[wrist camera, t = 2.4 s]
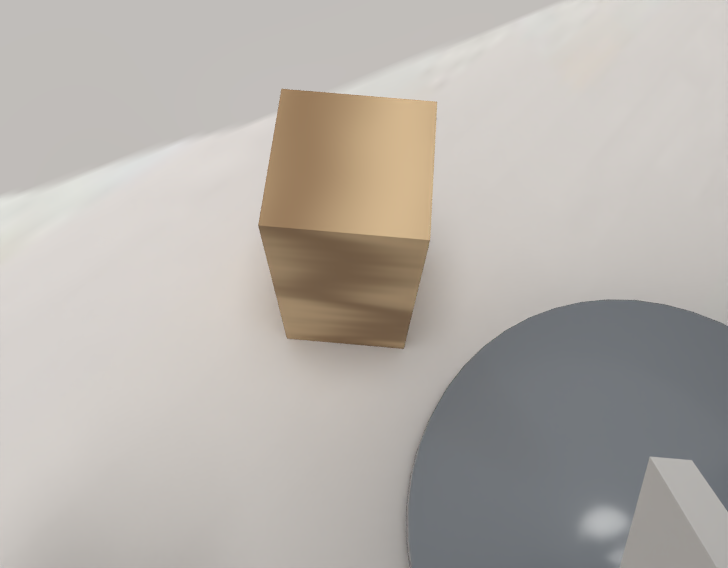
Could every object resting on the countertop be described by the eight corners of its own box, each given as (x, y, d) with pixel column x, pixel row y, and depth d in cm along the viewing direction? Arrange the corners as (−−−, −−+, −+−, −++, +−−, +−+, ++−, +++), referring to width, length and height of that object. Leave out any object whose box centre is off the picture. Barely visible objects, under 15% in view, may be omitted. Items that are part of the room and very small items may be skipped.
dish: (828, 331, 29) (852, 319, 28) (936, 846, 22) (975, 864, 21) (418, 295, 29) (421, 281, 28) (390, 793, 22) (393, 807, 21)
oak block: (410, 244, 30) (436, 101, 21) (403, 348, 28) (430, 240, 19) (301, 235, 31) (281, 88, 21) (287, 338, 29) (258, 225, 19)
